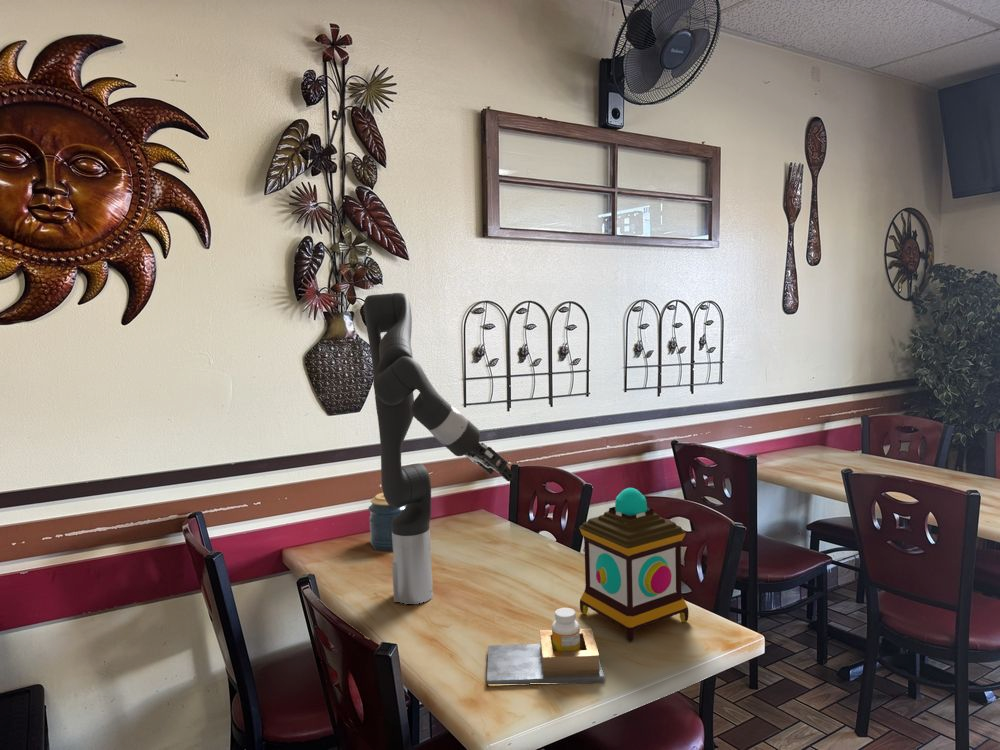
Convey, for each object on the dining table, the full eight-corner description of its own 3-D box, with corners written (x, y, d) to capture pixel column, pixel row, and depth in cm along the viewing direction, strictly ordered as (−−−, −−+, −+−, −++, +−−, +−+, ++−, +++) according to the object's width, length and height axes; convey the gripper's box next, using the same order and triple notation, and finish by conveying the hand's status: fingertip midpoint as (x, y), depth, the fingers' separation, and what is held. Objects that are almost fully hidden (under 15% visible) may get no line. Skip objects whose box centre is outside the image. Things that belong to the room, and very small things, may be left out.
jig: (487, 686, 124) (486, 662, 124) (488, 651, 137) (487, 629, 137) (604, 682, 124) (603, 658, 124) (594, 647, 137) (594, 625, 137)
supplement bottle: (551, 653, 133) (549, 606, 132) (578, 651, 134) (576, 604, 133) (555, 667, 128) (553, 619, 127) (582, 665, 128) (581, 617, 127)
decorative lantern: (571, 612, 153) (567, 485, 150) (636, 591, 163) (633, 472, 160) (629, 649, 136) (626, 506, 133) (698, 623, 146) (696, 489, 143)
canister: (368, 540, 208) (365, 485, 206) (409, 534, 212) (406, 480, 210) (373, 554, 196) (369, 495, 194) (416, 547, 200) (413, 490, 198)
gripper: (479, 420, 136) (528, 466, 143) (449, 412, 149) (496, 455, 155) (457, 449, 134) (508, 495, 141) (429, 439, 147) (477, 481, 153)
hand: (502, 474), depth 148 cm, fingers open, 8 cm apart
